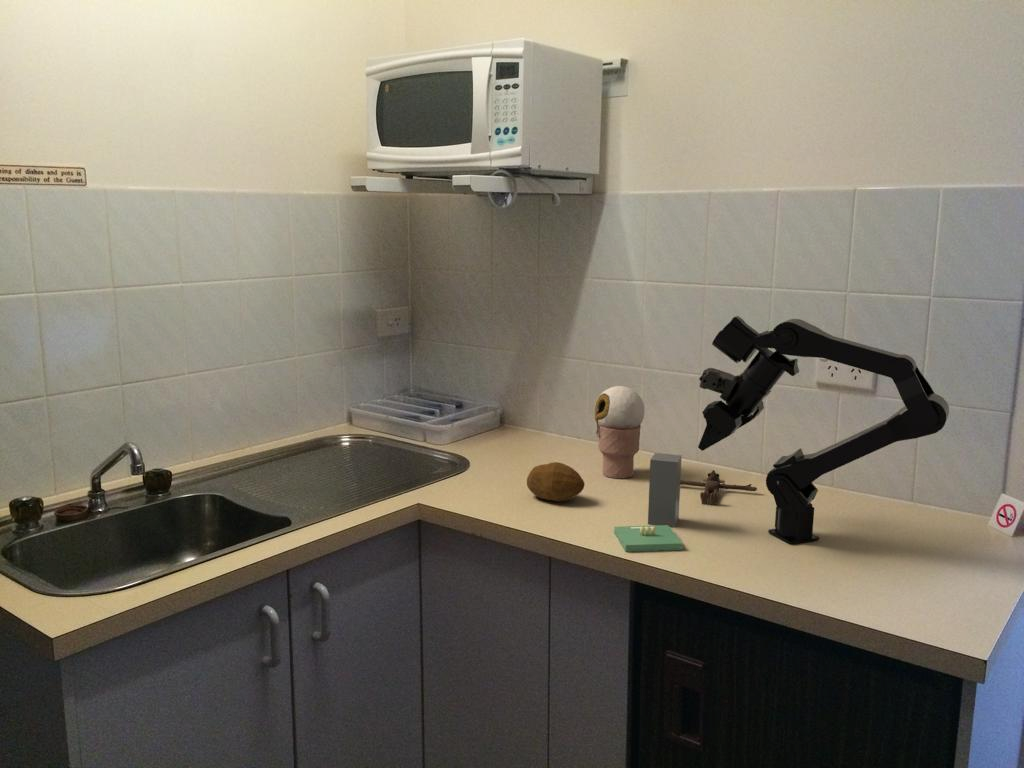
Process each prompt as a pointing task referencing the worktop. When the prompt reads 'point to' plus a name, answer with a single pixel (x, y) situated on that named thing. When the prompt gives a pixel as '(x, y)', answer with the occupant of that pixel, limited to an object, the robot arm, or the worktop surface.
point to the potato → (554, 482)
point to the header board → (647, 538)
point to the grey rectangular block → (664, 489)
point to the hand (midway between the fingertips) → (708, 443)
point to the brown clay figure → (714, 487)
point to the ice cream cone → (618, 429)
